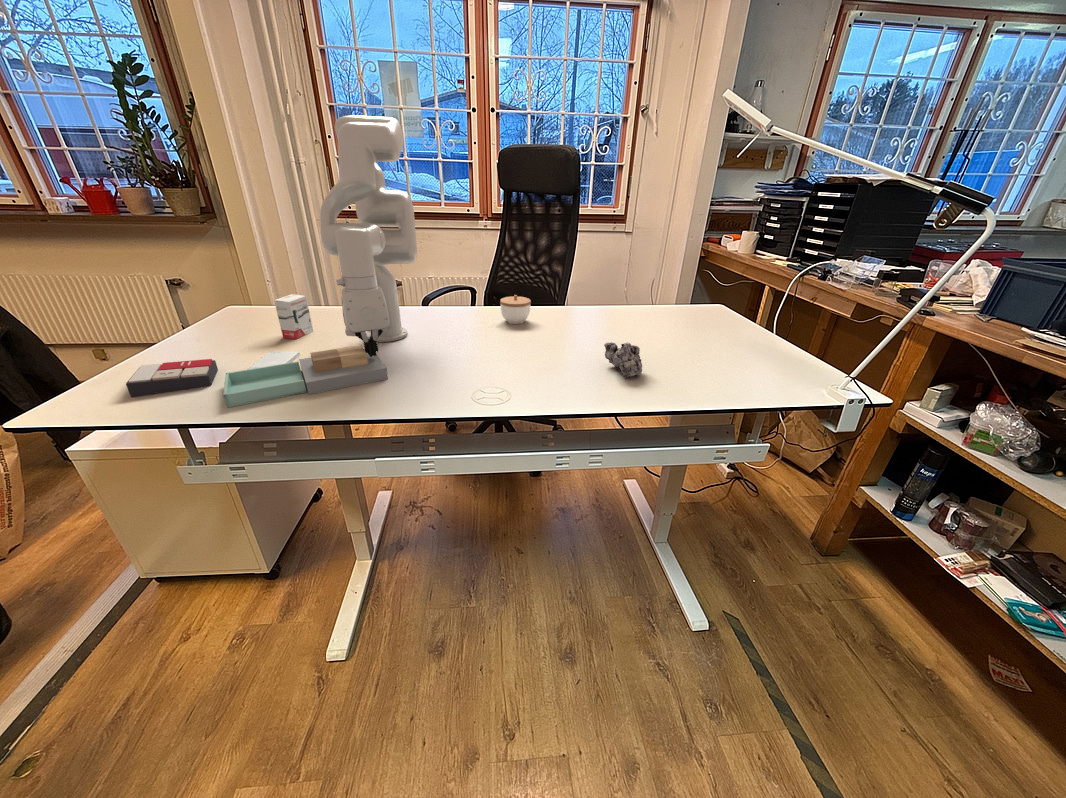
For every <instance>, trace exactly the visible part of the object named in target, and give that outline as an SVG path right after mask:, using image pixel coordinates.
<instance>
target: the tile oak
mask: <svg viewBox="0 0 1066 798" xmlns="http://www.w3.org/2000/svg"><path fill="white" fill-rule="evenodd" d="M336 349H337V351H338V353H339V355H340V358H341V363H342V368H345V367H351V366H357V365H363V364H368V361H367V355H366V352H365V350H364V349H365V348H364V346H362V344H361V345H360V344H359V345H353V346H347V347H339V348H336Z"/></svg>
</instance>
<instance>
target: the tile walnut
mask: <svg viewBox="0 0 1066 798" xmlns="http://www.w3.org/2000/svg"><path fill="white" fill-rule="evenodd" d="M337 349H338V348H332V349H326V350H319V351H314V352H313V351H312V352H310V353H309V354H310V357H311V359H312V363H313V366H314V369H315V372H322V371H328V370H334V369H339V368H342V363H341V358H340V355H339V353H338V351H337Z"/></svg>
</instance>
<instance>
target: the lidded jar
mask: <svg viewBox="0 0 1066 798" xmlns="http://www.w3.org/2000/svg"><path fill="white" fill-rule="evenodd" d="M513 295H514V296H512V295H511V296H505V297H502V298H500V301H499V303H500V311H501V312H500V313H501V315H502V317H503V319H504V320H506V322H507V323H509V324H511V325H512V324H513V325H520V324H523V323H525V321H526V320H527V319H528V317H529V315H530V311H531V303H532V301H531V299H530V298H528V297H526V296H525V297H524V296H518V294H513Z"/></svg>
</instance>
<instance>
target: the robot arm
mask: <svg viewBox="0 0 1066 798" xmlns="http://www.w3.org/2000/svg"><path fill="white" fill-rule="evenodd" d="M334 131H335V134H336V138H337V155H338V156H337V157H338V160H337V161H338V182H337V183H336V184H334V186H332V188H331V189H330V190H329V191H328V193H327V194H326V196H325V197H324V199H323V201H322V203H321V206H320V212H319V214H320V215H319V216H320V217H319V220H320V236H321V237H320V238H321V243H322V246H323V248H324V250H325V251H326V252H327V254H329V255H332V256H337V257H338V260H339V266H340V271H341V272H340V273H341V277H340V278H338V279H335V282H336V285H337V286H340V287H341V286H342V287H343V288H342V289H341V308H342V309H341V310H342V317H343V322H344V326H345V329H344V331H345V335H346V336H347V337H356V338H358V339H360V340H361V341H363V342H362V343H363V349H365V352H366V353H368V354H369V356H370V357H372V356H378V354H377V352H379V347H378V343H386V342H389V343H390V342H394V341H395V342H396V341H399V340H401V339H404V338H406V337H407V336H408V330H407V329H406V328H404V327H402V319H401V312H400V304H399V302H400V301H399V297H398V295H399V294H398V288H397V287H398V286H397V280H396V278H395V276H394V273H393V272H392V271H391V270H390V269H389V268H388V267H387V266H386V265H410V264H413V263H415V261H416V260H417V258H418V257H417V256H418V246H417V234H416V233H417V232H416V221H415V209H414V203H413V201H412V199H411V196H410V195H409V194H408V193H407V192H406V191H403V190H395V189H394V190H390V189H389V190H387V189H386V181H385V174H384V172H383V170H382V168H381V167H380V166H379V165H378V162H380V163H381V162H384V163H385V162H387V163H388V162H389V163H393V162H394V163H395V162H397V161H398V160H399V159H400V156H401V153H402V150H403V147H404V132H403V130H402V126H401V123H400V122H399V120H398V119H396V118H394V117H390V116H370V115H354V114H353V115H343V116H340V117H338V118H336V120H335V124H334ZM352 205H355V212H356V216H357V219H358V221H359V222H358V223H357V222H337V218H338V216H339V214H340V213H341V212H342V211H344V210H345V209H346V208H347V207H350V206H352ZM381 227H398V228H397V229H396V228H395V229H385V228H381Z"/></svg>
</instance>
